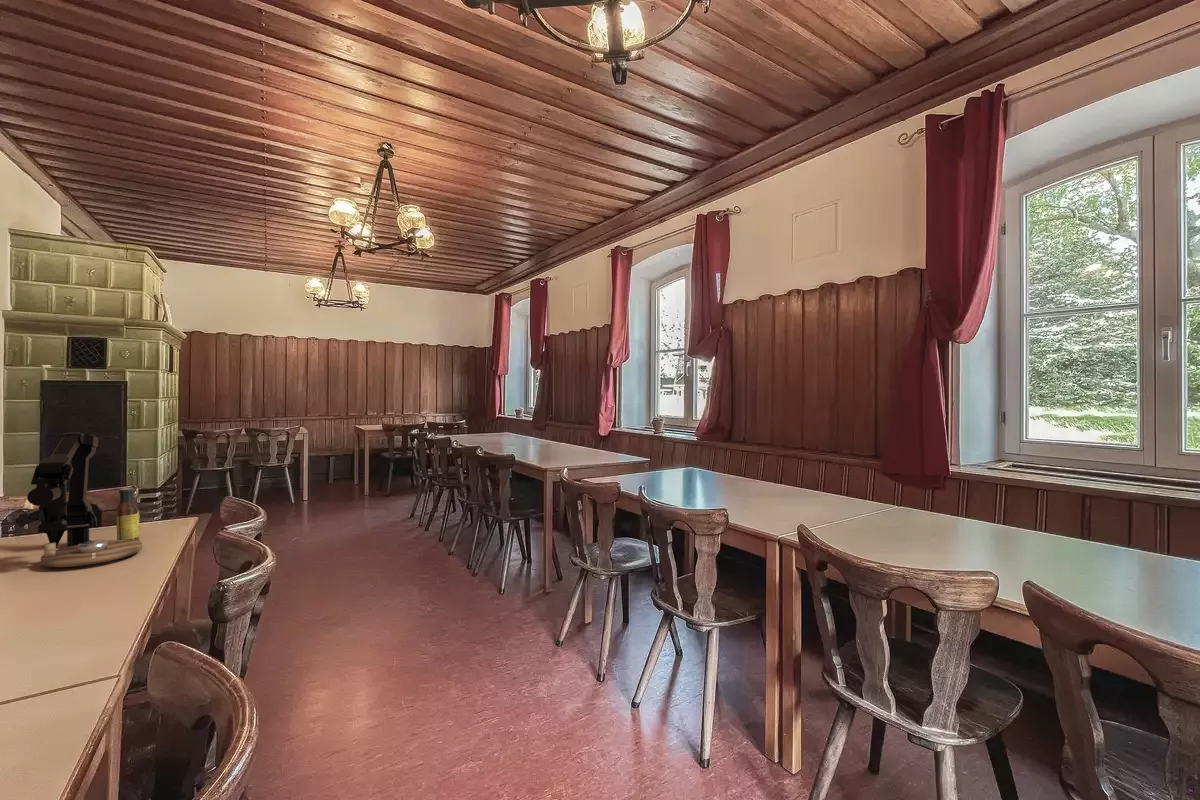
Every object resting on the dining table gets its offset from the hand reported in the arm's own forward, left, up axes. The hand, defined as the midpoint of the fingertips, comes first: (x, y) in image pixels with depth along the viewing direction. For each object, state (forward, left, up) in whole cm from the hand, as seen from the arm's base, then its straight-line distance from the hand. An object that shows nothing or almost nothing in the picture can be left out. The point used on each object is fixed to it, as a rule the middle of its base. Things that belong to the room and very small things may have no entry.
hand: (53, 548), depth 168 cm
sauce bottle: (-14, +18, -5) cm, 23 cm away
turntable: (+3, +9, -3) cm, 10 cm away
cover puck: (+3, +9, -2) cm, 10 cm away
